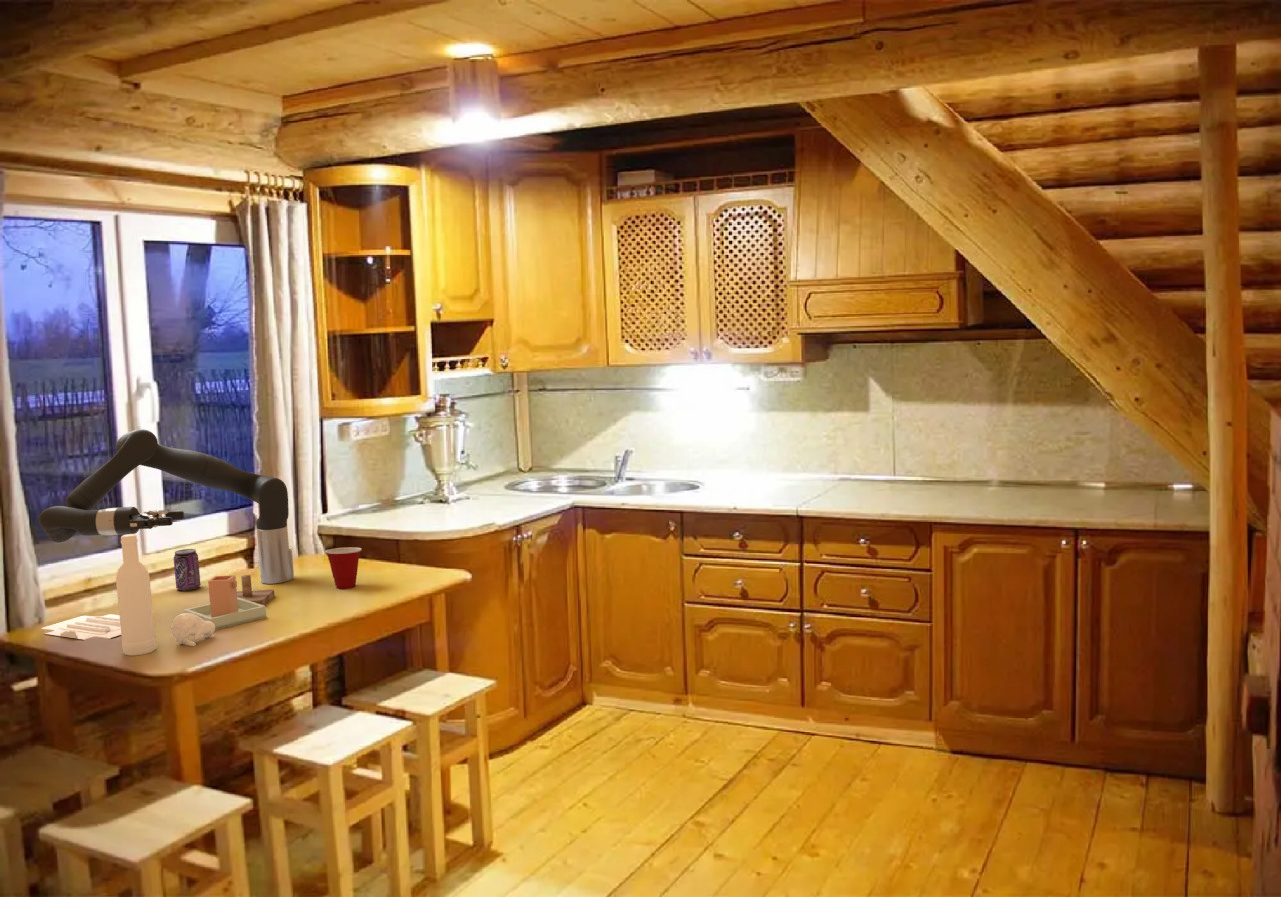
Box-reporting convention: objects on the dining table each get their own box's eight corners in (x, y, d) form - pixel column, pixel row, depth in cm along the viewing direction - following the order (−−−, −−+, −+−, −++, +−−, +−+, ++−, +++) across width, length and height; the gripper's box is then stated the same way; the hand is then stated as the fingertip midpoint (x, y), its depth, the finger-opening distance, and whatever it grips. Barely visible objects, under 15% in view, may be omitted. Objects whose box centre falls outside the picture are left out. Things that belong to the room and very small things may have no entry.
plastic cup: (369, 582, 350) (366, 544, 348) (357, 591, 339) (354, 552, 337) (335, 582, 351) (332, 544, 349) (322, 591, 340) (319, 552, 339)
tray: (238, 608, 324) (237, 597, 323) (266, 617, 313) (265, 606, 313) (184, 621, 312) (183, 609, 312) (211, 631, 301) (210, 619, 301)
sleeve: (218, 614, 315) (215, 576, 314) (241, 613, 315) (238, 575, 314) (211, 619, 310) (208, 581, 308) (235, 618, 310) (231, 580, 308)
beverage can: (172, 589, 350) (168, 551, 348) (194, 584, 355) (191, 547, 353) (182, 592, 345) (179, 554, 343) (204, 588, 350) (201, 550, 348)
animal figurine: (168, 614, 288) (205, 606, 298) (168, 646, 288) (205, 637, 299) (184, 616, 285) (221, 609, 295) (185, 648, 285) (221, 640, 296)
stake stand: (234, 598, 336) (231, 572, 335) (274, 596, 336) (272, 570, 335) (220, 608, 324) (218, 581, 323) (262, 607, 324) (260, 580, 323)
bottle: (115, 653, 284) (104, 537, 280) (142, 645, 291) (131, 531, 287) (137, 657, 280) (125, 539, 276) (163, 648, 287) (152, 533, 283)
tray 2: (94, 615, 325) (93, 602, 324) (163, 628, 313) (162, 615, 312) (29, 635, 307) (28, 621, 306) (99, 649, 295) (98, 635, 294)
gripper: (105, 512, 300) (166, 509, 301) (127, 503, 314) (185, 499, 315) (108, 540, 301) (169, 537, 302) (130, 529, 316) (188, 526, 316)
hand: (177, 518), depth 308 cm, fingers open, 8 cm apart
